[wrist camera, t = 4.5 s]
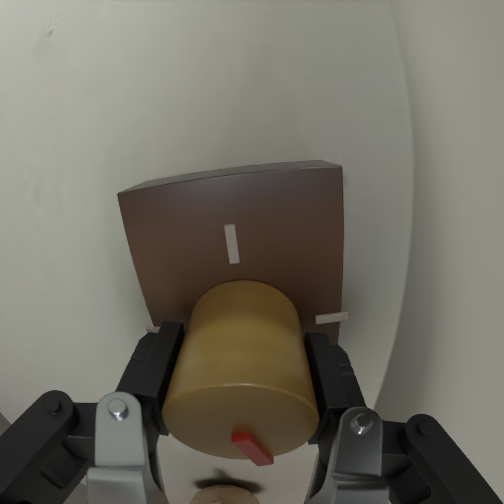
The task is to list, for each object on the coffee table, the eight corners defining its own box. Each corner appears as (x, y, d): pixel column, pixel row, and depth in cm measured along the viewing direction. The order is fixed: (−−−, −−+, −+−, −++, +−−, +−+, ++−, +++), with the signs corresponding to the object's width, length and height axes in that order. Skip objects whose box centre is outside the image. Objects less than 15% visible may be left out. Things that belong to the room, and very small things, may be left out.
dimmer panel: (140, 182, 12) (107, 195, 9) (328, 159, 11) (352, 165, 8) (191, 373, 16) (182, 410, 13) (326, 363, 16) (336, 401, 13)
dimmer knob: (172, 299, 10) (126, 405, 6) (278, 263, 10) (298, 374, 5) (219, 372, 12) (206, 471, 7) (310, 347, 11) (332, 452, 6)
